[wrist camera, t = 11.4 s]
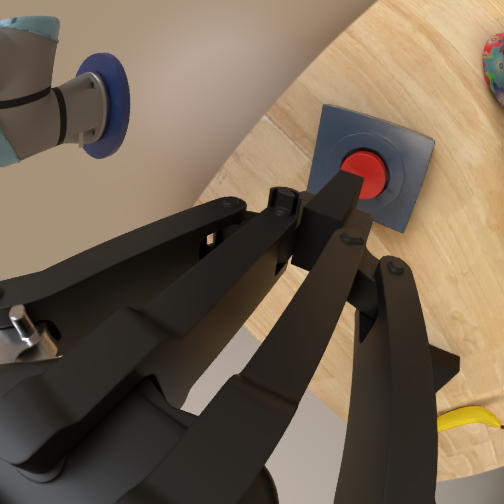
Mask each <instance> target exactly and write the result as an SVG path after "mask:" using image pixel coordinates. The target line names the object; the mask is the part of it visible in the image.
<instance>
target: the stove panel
mask: <svg viewBox="0 0 504 504" xmlns="http://www.w3.org/2000/svg"><path fill="white" fill-rule="evenodd" d="M429 348H430V354H431V361H432V368H433V375H434V384H435V393H436V392H437V391H438V390H440V389H441V388H442V387H443V386H444V385H445V384H446V383H447V382H449V381H450V380H451V379H452V378H453V377H454V376H455V375H456V374H457V373H458V372H459V371H460V357H458V356H456V355H453V354H451V353H449V352H446V351H444V350H441V349H439V348H436V347H434V346H432V345H429Z"/></svg>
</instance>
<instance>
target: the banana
mask: <svg viewBox="0 0 504 504" xmlns="http://www.w3.org/2000/svg"><path fill="white" fill-rule="evenodd" d="M469 423H484V424H487V425H489V426H492V427H501V429H504V425H501V423H500V421H499V420H498V418H497V417H496V416H495V415H494V414H493V413H492V412H490V411H489V410H487V409H485V408H483V407H478V406H468V407H463V408H459V409H456V410H453V411H451V412H448V413H446V414H443V415H441V416H439V417H437V427H438V432H441V431H444V430H447V429H450V428H453V427H457V426H461V425H465V424H469Z"/></svg>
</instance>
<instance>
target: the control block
mask: <svg viewBox="0 0 504 504" xmlns="http://www.w3.org/2000/svg"><path fill="white" fill-rule="evenodd" d="M434 144H435V141H434V140H433V139H432V138H430V137H428V136H425V135H423V134H420V133H418V132H415V131H413V130H410V129H408V128H405V127H402V126H400V125H397V124H394V123H391V122H388V121H385V120H383V119H379V118H376V117H373V116H370V115H367V114H364V113H360V112H357V111H353V110H350V109H346V108H342V107H338V106H334V105H330V104H323V108H322V113H321V119H320V125H319V130H318V135H317V141H316V146H315V151H314V156H313V161H312V166H311V171H310V176H309V181H308V186H307V190H306V192H309V193H312V194H315V195H316V194H317V193H318V192H319V191H320V190H321V189H322V188H323V187H324V186H325V185H326V184H327V183H328V182H329V181H330V180H331V179H332V178H333V177H334V176H335V175H336V174H337V173H338V172H339V171H340V170H341V166H342V164H343V163H344V161H345V160H346V159H347V158H348V157H349V156H350V155H352V154H353V153H355V152H358V151H370V152H372V153H374V154H376V155H377V156H379V157H380V158H381V160H382V161H383V162H384V164H385V167H386V171H387V176H386V181H385V185H384V188H383V189H382V191H381V192H380V193H379V194H378V195H377V196H375V197H373V198H371V199H358V203H357V206H356V209H358V210H361V211H364V212H366V213H369V214H371V216H372V218H373V221H374V222H377V223H379V224H382V225H384V226H387V227H389V228H391V229H394V230H396V231H398V232H401V233H404V231H405V228H406V226H407V223H408V221H409V218H410V216H411V213H412V211H413V208H414V205H415V203H416V200H417V197H418V194H419V192H420V189H421V186H422V183H423V180H424V177H425V174H426V171H427V168H428V164H429V161H430V158H431V154H432V151H433V147H434Z"/></svg>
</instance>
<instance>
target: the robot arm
mask: <svg viewBox="0 0 504 504" xmlns="http://www.w3.org/2000/svg"><path fill="white" fill-rule="evenodd" d="M59 29H60V21H59V20H58V18H56V17H51V16H26V17H19V18H18V17H17V18H8V19H4V20H1V21H0V167H6V166H9V165H12V164H15V163H17V162H18V163H19V162H20V161H21V160H24V159H26V158H28V157H30V156H33V155H35V154H37V153H40V152H42V151H45V150H47V149H50V148H52V147H55V146H57V145H60V144H63V143H79V148H81V147H83V144H90V143H93V142H96V141H99V140H101V139H102V138H103V137H104V135H105V133H106V131H107V129H108V126H109V122H110V116H111V98H110V92H109V88H108V85H107V82H106V80H105V78H104V77H103V76H102V75H101V74H100V73H99V72H96V71H93V72H86V73H83V74H81V75H79V76H77V77H75V78H74V79H72V80H70V81H68V82H66V83H64V84H62V85H61V86H59V87H55V88H51V81H52V72H53V65H54V59H55V52H56V47H57V43H58V34H59ZM363 182H364V177H361V176H358V175H356V174H353V173H350V172H347V171H344V170H340V171H339V172H338V173H337V174H336V175H335V176H334V177H333V178H332V179H331V180H330V181H329V182H328V183H327V184H326V185H325V186H324V187H323V188H322V189H321V190H320V191H319V192H318V193H317V194H316V195H315V194H312V193H309V192H306V191H302V192H298V191H297V190H294V189H292V188H288V187H273V188H270V193H269V200H268V207H267V208H266V209H264V210H263V211H262V212H260V213H257V212H251V211H246V208H247V204H246V202H245V201H243V200H242V199H239V198H237V197H232V196H230V197H222V198H218V199H215V200H212V201H210V202H207V203H204V204H201V205H198V206H195V207H193V208H190V209H187V210H185V211H182V212H179V213H176V214H174V215H171V216H169V217H166V218H163V219H160V220H158V221H155V222H153V223H151V224H148V225H145V226H142V227H140V228H138V229H135V230H133V231H130V232H128V233H125V234H123V235H120V236H118V237H116V238H113V239H111V240H109V241H106V242H104V243H102V244H99V245H97V246H95V247H93V248H90V249H88V250H86V251H84V252H81V253H79V254H77V255H75V256H72V257H70V258H68V259H66V260H64V261H62V262H60V263H57V264H56V265H53V266H51V267H49V268H47V269H45V270H43V271H40V272H36V273H32V274H28V275H23V276H19V277H15V278H11V279H7V280H3V281H0V504H279V500H278V494H277V489H276V486H275V483H274V480H273V478H272V476H271V474H270V472H269V471H268V469H267V468H266V466H265V463H266V462H267V460H268V459H269V457H270V455H271V454H272V452H273V451H274V449H275V447H276V446H277V444H278V442H279V441H280V439H281V437H282V436H283V434H284V432H285V431H286V429H287V427H288V425H289V424H290V422H291V420H292V418H293V416H294V414H295V412H296V410H297V408H298V404H299V402H300V400H301V398H302V396H303V395H304V393H305V391H306V389H307V387H308V385H309V383H310V381H311V379H312V377H313V375H314V373H315V371H316V369H317V367H318V365H319V362H320V360H321V358H322V356H323V354H324V352H325V350H326V347H327V345H328V343H329V341H330V338H331V336H332V334H333V332H334V329H335V327H336V324H337V322H338V320H339V317H340V315H341V312H342V310H343V307H344V305H345V302H346V301H347V302H349V303H350V304H351V305H353V306H354V307H355V308H357V309H356V312H355V333H354V357H353V373H352V386H351V397H350V407H349V415H348V424H347V431H346V438H345V444H344V451H343V457H342V463H341V468H340V473H339V478H338V483H337V487H336V492H335V498H334V504H436V502H435V490H436V478H437V459H438V427H437V407H436V394H435V384H434V375H433V368H432V361H431V354H430V348H429V342H428V337H427V331H426V326H425V322H424V317H423V312H422V308H421V304H420V300H419V296H418V292H417V288H416V284H415V280H414V277H413V273H412V271H411V269H410V267H409V266H408V265H407V264H406V263H405V262H404V261H403V260H402V259H400V258H397V257H394V256H383V257H382V258H381V259H380V260H378V259H377V258H376V257H374V256H373V255H372V254H371V253H370V252H369V251H368V249H367V247H366V242H367V239H368V235H369V232H370V229H371V226H372V222H373V218H372V216H371V214H369V213H366V212H364V211H361V210H358V209H356V206H357V203H358V199H359V196H360V192H361V189H362V186H363ZM212 233H213V243H211V244H208V245H207V236H208V235H210V234H212ZM292 255H293V256H292ZM291 256H292V260H291V264H292V265H295V266H297V267H300V268H302V269H304V270H307V271H309V274H308V275H307V277H306V278H305V280H304V282H303V283H302V285H301V286H300V288H299V289H298V291H297V292H296V294H295V295H294V297H293V299H292V300H291V302H290V303H289V305H288V306H287V308H286V309H285V311H284V312H283V314H282V315H281V317H280V318H279V319H278V321H277V322H276V324H275V325H274V327H273V328H272V330H271V331H270V333H269V334H268V336H267V337H266V338H265V340H264V341H263V343H262V344H261V346H260V347H259V348H258V350H257V351H256V353H255V354H254V355H253V357H252V358H251V360H250V361H249V362H248V364H247V365H246V367H245V368H244V369H243V370H242V372H240V373H239V374H236V375H233V376H232V377H231V378H229V379H228V380H227V382H226V383H225V384H224V385H223V386H222V387H221V389H220V390H219V391H218V393H217V394H216V395H215V396H214V398H213V399H212V400H211V402H210V403H209V404H208V405H207V407H206V408H205V409H204V410H203V411H202V413H201V414H200V415H199V416H196V415H194V414H191V413H188V412H185V411H183V410H180V408H181V407H182V406H183V404H184V402H185V401H186V398H187V396H188V393H189V391H190V389H191V387H192V386H193V385H194V384H195V382H196V381H197V380H198V379H199V377H200V376H201V375H202V374H203V373H204V372H205V370H206V369H207V368H208V367H209V366H210V365H211V363H212V362H213V361H214V360H215V358H216V357H217V356H218V355H219V354H220V352H221V351H222V350H223V349H224V347H225V346H226V345H227V344H228V343H229V341H230V340H231V339H232V338H233V337H234V335H235V334H236V333H237V332H238V330H239V329H240V328H241V327H242V325H243V324H244V323H245V322H246V320H247V319H248V318H249V317H250V315H251V314H252V313H253V311H254V310H255V309H256V308H257V306H258V305H259V304H260V303H261V301H262V300H263V299H264V297H265V296H266V295H267V294H268V292H269V291H270V290H271V288H272V287H273V286H274V285H275V283H276V282H277V281H278V279H279V278H280V277H281V275H282V274H283V273H284V271H285V270H286V268H287V264H288V260H289V258H290V257H291ZM61 355H63V356H62V357H60V358H58V356H61Z"/></svg>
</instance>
